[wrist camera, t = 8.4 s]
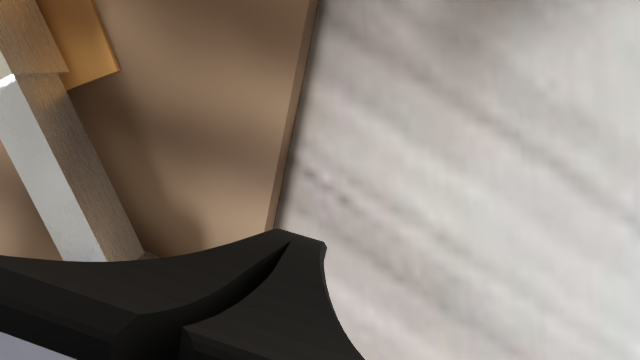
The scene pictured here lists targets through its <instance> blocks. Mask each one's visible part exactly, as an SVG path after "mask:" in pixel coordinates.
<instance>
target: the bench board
mask: <svg viewBox="0 0 640 360" xmlns="http://www.w3.org/2000/svg"><path fill="white" fill-rule="evenodd" d="M35 1H36V3H37V5H38V8H39V10H40V12H41V14H42V16H43V18H44V20H45V22H46V24H47V26H48V28H49V30H50V32H51V35H52V37H53V39H54V41H55V43H56V45H57V47H58V49H59V51H60V53H61V55H62V57H63V59H64V62H65V64H66V66H67V68H68V70H69V72H68V73H66V74H64V75H62V76H60V80H61V82H62V84H63V86H64V88H65V90H66V92H67V94H68V96H69V98H70V100H71V102H72V104H73V106H74V108H75V110H76V112H77V115H78V117H79V119H80V121H81V123H82V125H83V127H84V129H85V131H86V133H87V135H88V137H89V139H90V141H91V143H92V145H93V147H94V149H95V152H96V154H97V156H98V158H99V160H100V162H101V164H102V166H103V168H104V170H105V172H106V174H107V176H108V178H109V180H110V182H111V184H112V186H113V189H114V191H115V193H116V195H117V197H118V199H119V201H120V203H121V205H122V207H123V209H124V211H125V213H126V215H127V217H128V219H129V221H130V224H131V226H132V228H133V230H134V232H135V234H136V236H137V238H138V240H139V242H140V244H141V246H142V248H143V250H144V251H146V252H149V253H152V254H154V255H156V256H157V257H159V258H165V257H171V256H178V255H184V254H189V253H194V252H199V251H203V250H206V249H210V248H214V247H218V246H221V245H225V244H229V243H232V242H235V241H238V240H241V239H245V238H248V237H251V236H254V235H257V234H260V233H263V232H266V231H269V230H273V226H274V221H275V216H276V211H277V206H278V201H279V196H280V191H281V186H282V181H283V176H284V171H285V166H286V161H287V156H288V151H289V146H290V141H291V136H292V131H293V126H294V121H295V116H296V111H297V106H298V101H299V97H300V92H301V87H302V82H303V77H304V72H305V67H306V62H307V57H308V52H309V47H310V42H311V37H312V32H313V27H314V22H315V17H316V12H317V7H318V2H319V0H35ZM0 255H4V256H13V257H24V258H35V259H45V260H58V261H63V259H62V257H61V255H60V253H59V251H58V249H57V247H56V245H55V243H54V241H53V239H52V237H51V236H50V234H49V232H48V230H47V228H46V226H45V224H44V222H43V220H42V218H41V216H40V214H39V212H38V210H37V209H36V207H35V205H34V203H33V201H32V199H31V197H30V195H29V193H28V191H27V189H26V187H25V185H24V183H23V182H22V180H21V178H20V176H19V174H18V172H17V170H16V168H15V166H14V164H13V162H12V160H11V158H10V157H9V155H8V153H7V151H6V149H5V147H4V145H3V143H2V141H1V139H0Z"/></svg>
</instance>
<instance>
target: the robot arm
mask: <svg viewBox="0 0 640 360" xmlns="http://www.w3.org/2000/svg"><path fill="white" fill-rule="evenodd" d="M326 250H327V247H326V245H325V243H324V242H322V241H319V240H315V239H312V238H309V237H305V236H302V235H298V234H295V233H292V232H288V231H285V230H281V229H273V230H269V231H266V232H263V233H260V234H257V235H254V236H251V237H248V238H245V239H241V240H238V241H235V242H232V243H229V244H225V245H221V246H218V247H214V248H210V249H206V250H203V251H199V252H194V253H189V254H184V255H178V256H171V257H165V258H157V259H145V260H131V261H115V262H83V261H58V260H45V259H35V258H24V257H13V256H4V255H0V360H365V359H364V358H363V357H362V355H361V354H360V353H359V352H358V351H357V349H356V348H355V347H354V346H353V344H352V343H351V341H350V340H349V338H348V337H347V335H346V333H345V332H344V330H343V328H342V326H341V324H340V322H339V320H338V318H337V316H336V313H335V311H334V309H333V306H332V303H331V300H330V297H329V293H328V289H327V285H326V280H325V273H324V258H325V254H326Z"/></svg>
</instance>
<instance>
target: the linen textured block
mask: <svg viewBox="0 0 640 360" xmlns="http://www.w3.org/2000/svg"><path fill="white" fill-rule="evenodd" d="M68 72H69V70H68V68H67V66H66V64H65V62H64V59H63V57H62V55H61V53H60V51H59V49H58V47H57V45H56V43H55V41H54V39H53V37H52V35H51V32H50V30H49V28H48V26H47V24H46V22H45V20H44V18H43V16H42V14H41V12H40V10H39V8H38V5H37V3H36V1H35V0H0V139H1V141H2V143H3V145H4V147H5V149H6V151H7V153H8V155H9V157H10V158H11V160H12V162H13V164H14V166H15V168H16V170H17V172H18V174H19V176H20V178H21V180H22V182H23V183H24V185H25V187H26V189H27V191H28V193H29V195H30V197H31V199H32V201H33V203H34V205H35V207H36V209H37V210H38V212H39V214H40V216H41V218H42V220H43V222H44V224H45V226H46V228H47V230H48V232H49V234H50V236H51V237H52V239H53V241H54V243H55V245H56V247H57V249H58V251H59V253H60V255H61V257H62V259H63V261H83V262H115V261H131V260H145V259H157V258H159V257H157V256H156V255H154V254H152V253H149V252H146V251H144V250H143V248H142V246H141V244H140V242H139V240H138V238H137V236H136V234H135V232H134V230H133V228H132V226H131V224H130V221H129V219H128V217H127V215H126V213H125V211H124V209H123V207H122V205H121V203H120V201H119V199H118V197H117V195H116V193H115V191H114V189H113V186H112V184H111V182H110V180H109V178H108V176H107V174H106V172H105V170H104V168H103V166H102V164H101V162H100V160H99V158H98V156H97V154H96V152H95V149H94V147H93V145H92V143H91V141H90V139H89V137H88V135H87V133H86V131H85V129H84V127H83V125H82V123H81V121H80V119H79V117H78V115H77V112H76V110H75V108H74V106H73V104H72V102H71V100H70V98H69V96H68V94H67V92H66V90H65V88H64V86H63V84H62V82H61V80H60V76H62V75H64V74H66V73H68Z"/></svg>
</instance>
